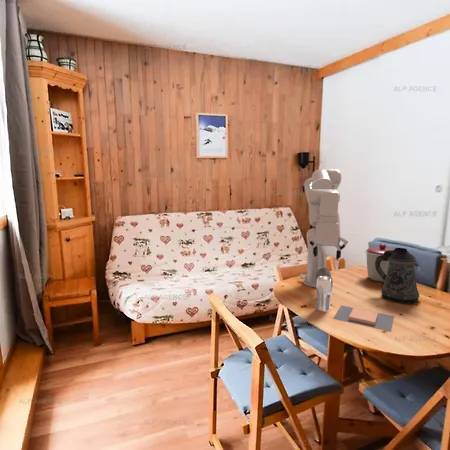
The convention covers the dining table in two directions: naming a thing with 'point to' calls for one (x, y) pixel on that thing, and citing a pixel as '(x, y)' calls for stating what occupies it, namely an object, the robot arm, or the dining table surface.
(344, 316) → the mat
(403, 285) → the beer stein
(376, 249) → the canister
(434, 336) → the dining table surface
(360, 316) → the tile
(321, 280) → the beer glass
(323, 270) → the beverage cup
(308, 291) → the dining table surface
